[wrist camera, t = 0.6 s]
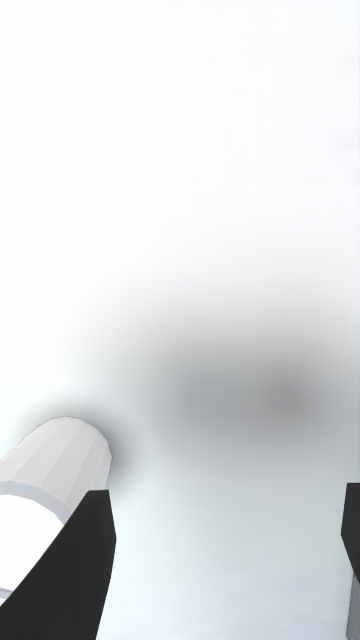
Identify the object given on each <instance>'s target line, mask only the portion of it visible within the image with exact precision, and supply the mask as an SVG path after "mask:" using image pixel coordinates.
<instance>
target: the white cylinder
mask: <svg viewBox="0 0 360 640" xmlns="http://www.w3.org/2000/svg"><path fill="white" fill-rule="evenodd" d="M111 461H112V455H111V451H110V447H109V443H108V442H107V440H106V439H105V438H104V436H103V435H102V433H101V432H100V431H99V430H98V429H97V428H95V427H94V426H92V425H91V424H89V423H88V422H86V421H85V420H81V419H76V418H72V417H61V418H53V419H50V420H49V421H47V422H45V423H44V424H42V425H40V426H38V427H37V428H36V429H35V430H34V431H33V432H32V433H30V434H29V435H28V436H27V437H26V438H25V439H24V440H23V441H21V442H20V443H19V444H18V445H17V446H16V447H15V448H13V449H12V450H11V451H10V452H9V453H8V454H7V455H5V456H4V457H3V458H2V459H1V460H0V598H3V599H7V598H8V597H9V596H10V595H11V593H12V592H13V591H14V590H15V589H16V587H17V586H18V585H19V584H20V582H21V581H22V580H23V579H24V577H25V576H26V575H27V574H28V572H29V571H30V570H31V569H32V568H33V566H34V565H35V564H36V563H37V561H38V560H39V559H40V557H41V556H42V555H43V553H44V552H45V551H46V549H47V548H48V547H49V545H50V544H51V543H52V541H53V540H54V539H55V537H56V536H57V535H58V533H59V532H60V530H61V529H62V528H63V526H64V525H65V523H66V522H67V520H68V519H69V518H70V516H71V515H72V513H73V512H74V510H75V509H76V507H77V506H78V504H79V503H80V501H81V500H82V498H83V497H84V495H85V494H86V493H87V492H88V491H89V490H105V487H106V483H107V479H108V475H109V471H110V466H111Z"/></svg>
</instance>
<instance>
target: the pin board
mask: <svg viewBox="0 0 360 640" xmlns="http://www.w3.org/2000/svg"><path fill="white" fill-rule="evenodd" d="M346 636H347V639H348V640H360V584H359V582H358V580H357V578H356V576H355V573H354V577H353V585H352V593H351V602H350V610H349V618H348V626H347V635H346Z"/></svg>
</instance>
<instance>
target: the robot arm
mask: <svg viewBox="0 0 360 640" xmlns="http://www.w3.org/2000/svg"><path fill="white" fill-rule="evenodd" d="M341 536H342V539H343V542H344V545H345V548H346V551H347V554H348V557H349V560H350V562H351V565H352V568H353V571H354V573H355V576H356V578H357V580H358V582H359V584H360V483H347V488H346V496H345V504H344V512H343V520H342V528H341ZM115 546H116V533H115V527H114V521H113V515H112V509H111V502H110V496H109V490H89V491H88V492H87V493H86V494H85V495H84V497H83V498H82V500H81V501H80V503H79V504H78V506H77V507H76V509H75V510H74V512H73V513H72V515H71V516H70V518H69V519H68V520H67V522H66V523H65V525H64V526H63V528H62V529H61V530H60V532H59V533H58V535H57V536H56V537H55V539H54V540H53V541H52V543H51V544H50V545H49V547H48V548H47V549H46V551H45V552H44V553H43V555H42V556H41V557H40V559H39V560H38V561H37V563H36V564H35V565H34V566H33V568H32V569H31V570H30V571H29V572H28V574H27V575H26V576H25V577H24V579H23V580H22V581H21V582H20V584H19V585H18V586H17V587H16V589H15V590H14V591H13V592H12V593H11V595H10V596H9V597H8V598H7V599H6V600H5V602H4V603H3V604H2V605H1V606H0V640H96V636H97V632H98V628H99V624H100V620H101V616H102V612H103V608H104V604H105V600H106V595H107V591H108V587H109V583H110V579H111V573H112V567H113V560H114V553H115Z"/></svg>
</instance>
